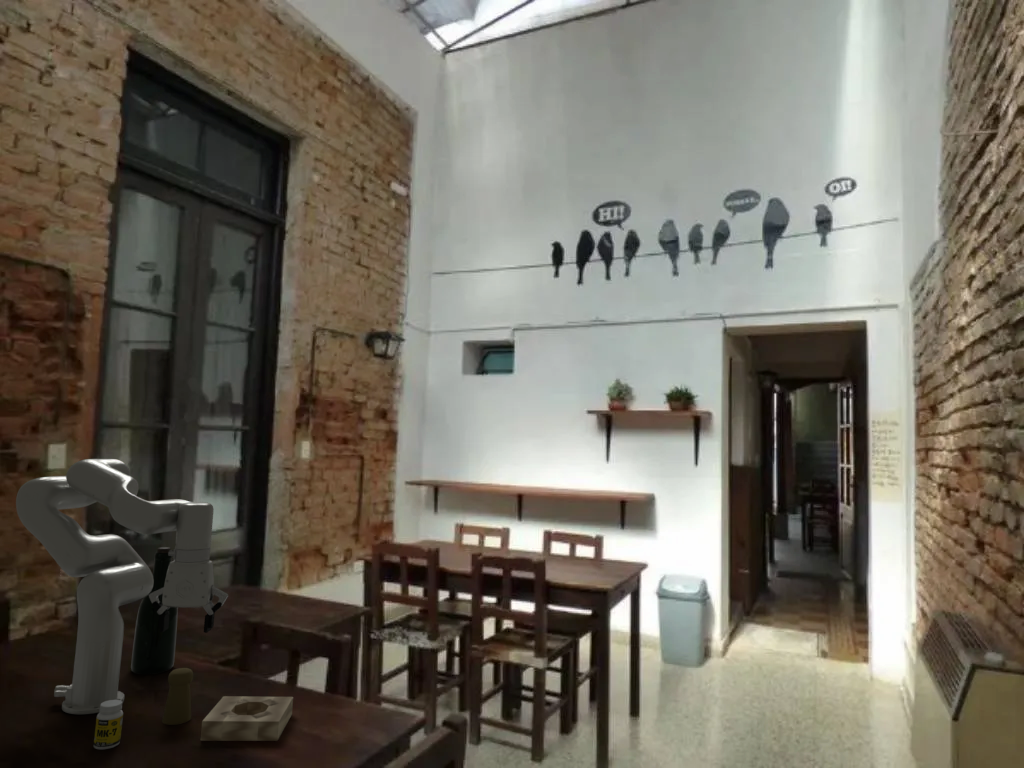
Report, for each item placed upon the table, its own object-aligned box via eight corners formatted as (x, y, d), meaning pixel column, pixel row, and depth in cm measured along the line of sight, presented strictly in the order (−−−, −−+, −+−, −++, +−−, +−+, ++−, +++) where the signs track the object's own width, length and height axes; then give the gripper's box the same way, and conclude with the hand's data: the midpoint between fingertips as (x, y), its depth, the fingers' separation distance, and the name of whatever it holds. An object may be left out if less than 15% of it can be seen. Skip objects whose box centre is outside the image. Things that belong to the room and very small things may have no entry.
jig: (200, 740, 140) (202, 721, 141) (222, 713, 154) (223, 696, 155) (277, 740, 142) (278, 721, 142) (291, 714, 156) (293, 696, 156)
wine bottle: (162, 660, 188) (173, 543, 192) (180, 669, 182) (192, 548, 185) (123, 669, 180) (135, 546, 183) (141, 678, 174) (154, 551, 177)
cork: (197, 716, 152) (201, 667, 153) (176, 726, 147) (181, 675, 148) (177, 712, 154) (181, 663, 155) (155, 721, 149) (160, 671, 150)
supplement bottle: (91, 751, 133) (95, 708, 134) (95, 741, 138) (99, 700, 139) (118, 748, 135) (122, 706, 136) (121, 738, 140) (125, 697, 140)
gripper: (146, 557, 149) (139, 635, 148) (225, 559, 151) (219, 636, 149) (160, 552, 157) (153, 626, 155) (235, 554, 159) (229, 627, 157)
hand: (185, 630), depth 152 cm, fingers open, 9 cm apart
